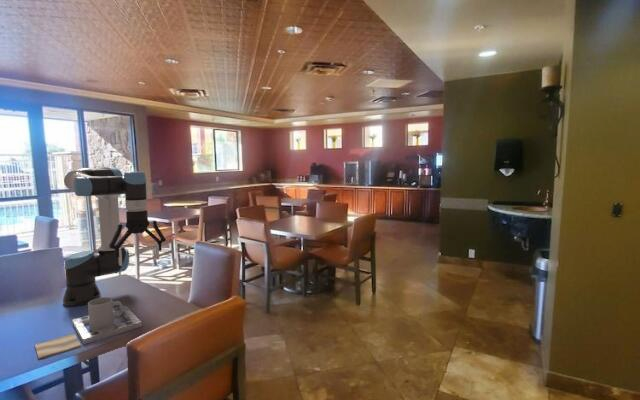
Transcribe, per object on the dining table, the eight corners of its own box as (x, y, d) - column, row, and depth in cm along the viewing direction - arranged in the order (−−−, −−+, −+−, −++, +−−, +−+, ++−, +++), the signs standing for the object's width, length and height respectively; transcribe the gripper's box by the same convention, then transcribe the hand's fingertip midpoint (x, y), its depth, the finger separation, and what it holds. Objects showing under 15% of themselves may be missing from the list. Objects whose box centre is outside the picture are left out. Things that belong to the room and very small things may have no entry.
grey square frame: (72, 324, 141) (72, 319, 141) (125, 309, 155) (125, 305, 155) (83, 344, 125) (83, 339, 125) (141, 326, 139) (141, 321, 139)
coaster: (34, 346, 124) (34, 344, 124) (74, 334, 132) (74, 333, 132) (38, 359, 116) (38, 358, 115) (80, 346, 124) (80, 344, 124)
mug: (90, 333, 133) (88, 307, 132) (89, 325, 140) (87, 300, 139) (124, 325, 140) (123, 299, 139) (122, 317, 147) (120, 293, 146)
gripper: (101, 214, 124) (105, 270, 126) (172, 208, 140) (174, 258, 142) (98, 211, 130) (102, 265, 132) (167, 206, 146) (169, 254, 148)
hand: (139, 261), depth 137 cm, fingers open, 13 cm apart
